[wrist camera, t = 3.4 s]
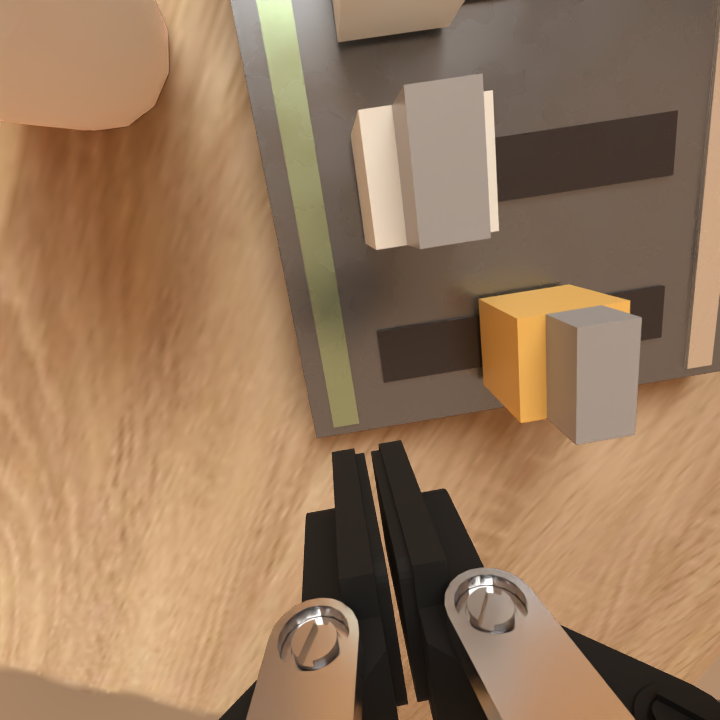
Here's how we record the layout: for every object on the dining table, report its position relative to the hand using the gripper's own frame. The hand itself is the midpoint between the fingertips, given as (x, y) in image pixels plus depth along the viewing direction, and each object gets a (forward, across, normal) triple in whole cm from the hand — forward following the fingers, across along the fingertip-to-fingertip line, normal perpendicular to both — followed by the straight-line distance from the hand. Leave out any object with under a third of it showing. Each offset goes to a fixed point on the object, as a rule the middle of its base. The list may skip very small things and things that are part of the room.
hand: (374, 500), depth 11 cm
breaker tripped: (+9, -8, 0) cm, 12 cm away
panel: (+12, -8, -8) cm, 16 cm away
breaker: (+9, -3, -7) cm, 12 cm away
